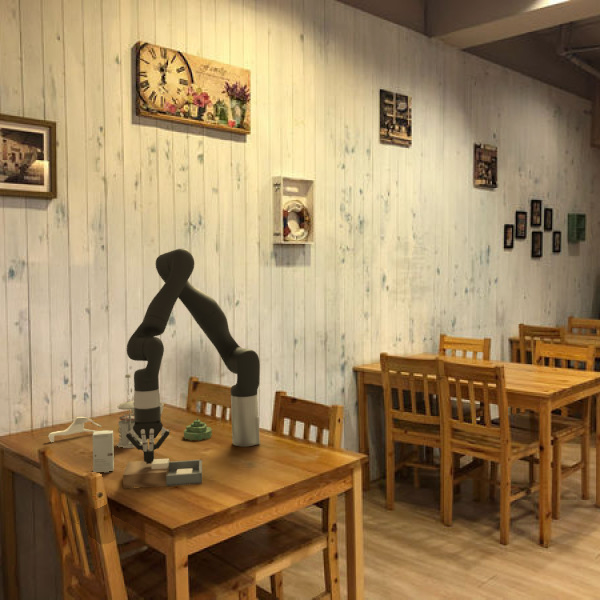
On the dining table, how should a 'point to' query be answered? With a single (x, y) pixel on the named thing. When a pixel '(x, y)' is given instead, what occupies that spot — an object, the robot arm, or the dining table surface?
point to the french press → (126, 423)
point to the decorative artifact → (197, 431)
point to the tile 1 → (160, 463)
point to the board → (143, 475)
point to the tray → (187, 478)
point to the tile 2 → (184, 471)
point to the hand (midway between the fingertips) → (149, 462)
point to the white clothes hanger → (74, 428)
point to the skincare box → (103, 451)
